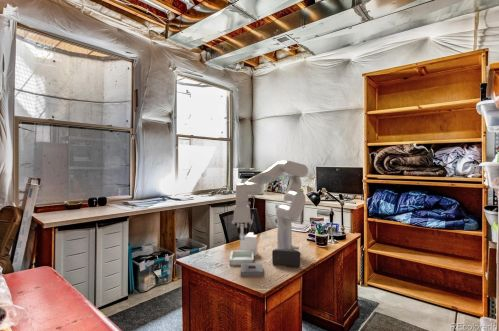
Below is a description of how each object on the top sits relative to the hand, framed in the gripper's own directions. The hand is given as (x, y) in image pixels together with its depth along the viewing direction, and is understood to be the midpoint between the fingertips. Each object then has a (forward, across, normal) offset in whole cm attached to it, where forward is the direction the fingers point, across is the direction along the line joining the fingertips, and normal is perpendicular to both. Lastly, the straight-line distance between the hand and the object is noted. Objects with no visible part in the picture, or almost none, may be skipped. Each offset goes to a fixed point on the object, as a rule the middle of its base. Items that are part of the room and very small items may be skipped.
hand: (242, 233), depth 170 cm
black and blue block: (+17, -26, +8) cm, 32 cm away
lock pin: (+4, 0, 0) cm, 4 cm away
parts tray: (+17, 0, 0) cm, 17 cm away
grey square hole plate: (+17, -6, +17) cm, 25 cm away
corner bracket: (+17, -4, -16) cm, 24 cm away
